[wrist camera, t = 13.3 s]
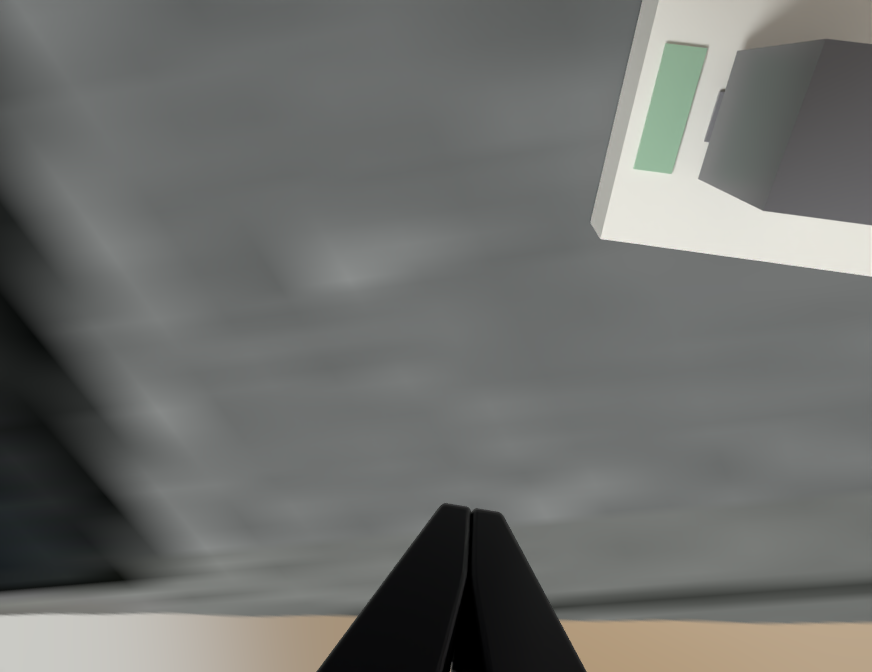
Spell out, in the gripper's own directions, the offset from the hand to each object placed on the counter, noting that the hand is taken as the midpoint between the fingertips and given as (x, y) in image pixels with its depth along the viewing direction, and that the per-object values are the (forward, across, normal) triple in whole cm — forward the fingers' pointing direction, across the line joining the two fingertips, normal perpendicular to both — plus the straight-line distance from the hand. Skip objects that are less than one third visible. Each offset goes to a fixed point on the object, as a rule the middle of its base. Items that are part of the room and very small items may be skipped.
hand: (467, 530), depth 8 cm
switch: (+10, -6, -5) cm, 13 cm away
